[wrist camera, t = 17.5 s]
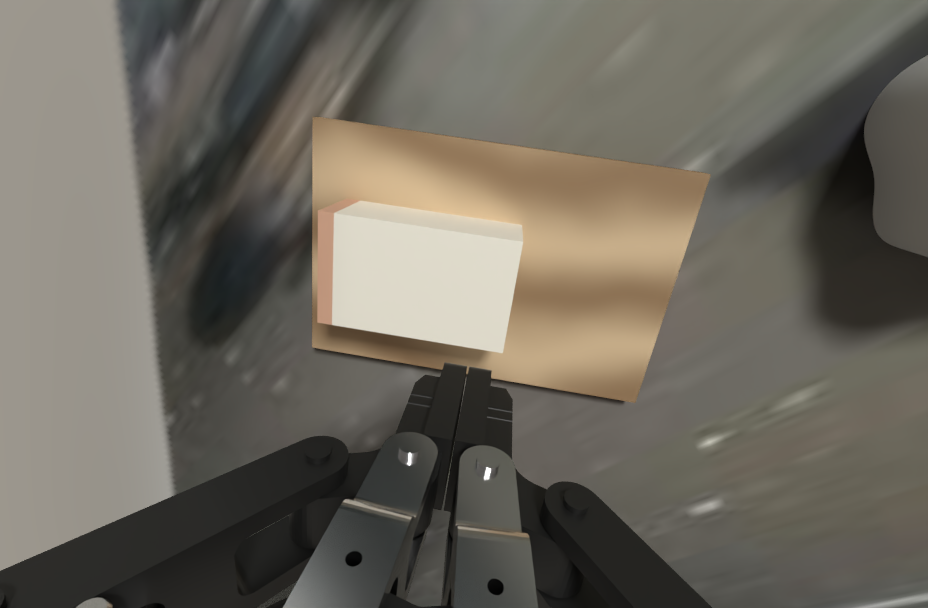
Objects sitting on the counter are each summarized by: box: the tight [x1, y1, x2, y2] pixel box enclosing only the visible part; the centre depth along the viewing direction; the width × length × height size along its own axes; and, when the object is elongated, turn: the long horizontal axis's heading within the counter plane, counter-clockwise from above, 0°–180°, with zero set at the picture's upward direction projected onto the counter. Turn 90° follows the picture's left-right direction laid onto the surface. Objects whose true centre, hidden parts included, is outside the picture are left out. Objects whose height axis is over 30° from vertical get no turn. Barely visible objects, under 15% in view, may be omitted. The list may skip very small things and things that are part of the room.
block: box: [317, 199, 523, 353], centre depth 24 cm, size 6×4×10 cm
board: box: [312, 117, 711, 403], centre depth 26 cm, size 14×21×1 cm, turn 82°
